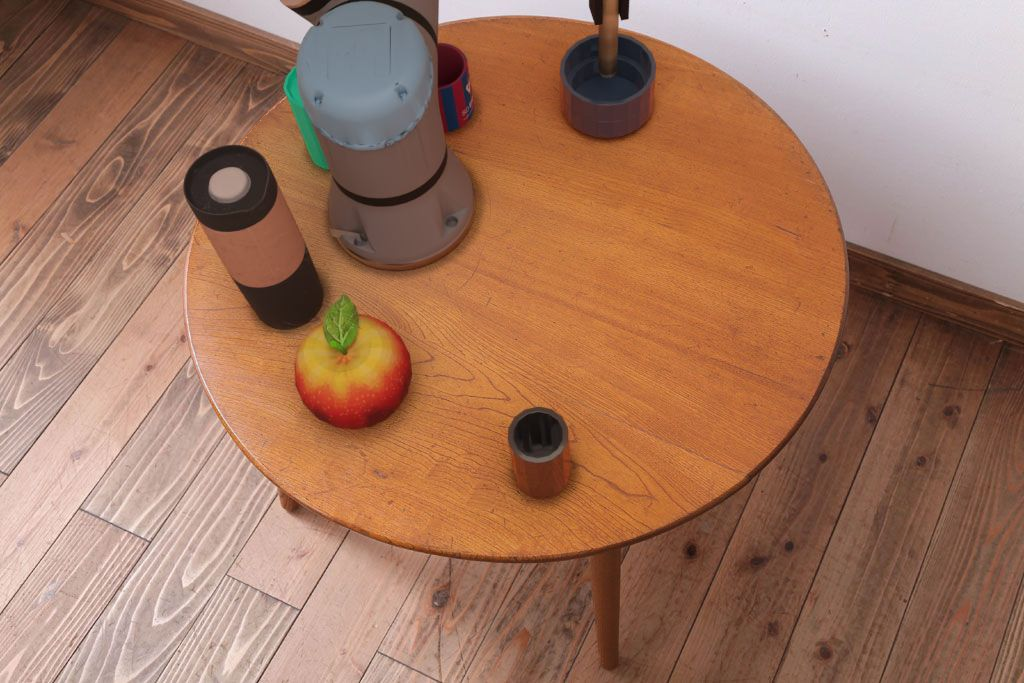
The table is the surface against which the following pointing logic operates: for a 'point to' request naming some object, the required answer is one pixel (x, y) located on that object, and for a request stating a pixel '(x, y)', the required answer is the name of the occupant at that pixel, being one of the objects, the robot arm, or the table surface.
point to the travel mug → (254, 234)
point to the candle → (303, 119)
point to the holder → (540, 452)
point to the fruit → (352, 368)
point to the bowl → (607, 88)
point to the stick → (608, 39)
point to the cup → (453, 87)
